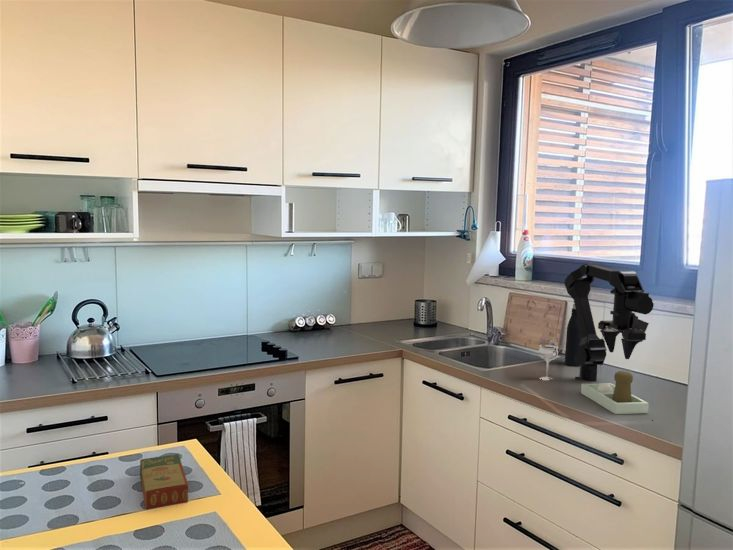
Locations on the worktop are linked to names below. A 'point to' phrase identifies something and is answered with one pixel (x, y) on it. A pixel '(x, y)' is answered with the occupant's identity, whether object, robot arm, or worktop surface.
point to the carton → (163, 481)
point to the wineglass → (548, 355)
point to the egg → (605, 388)
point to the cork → (622, 387)
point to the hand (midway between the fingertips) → (619, 355)
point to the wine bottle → (572, 339)
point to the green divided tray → (608, 403)
